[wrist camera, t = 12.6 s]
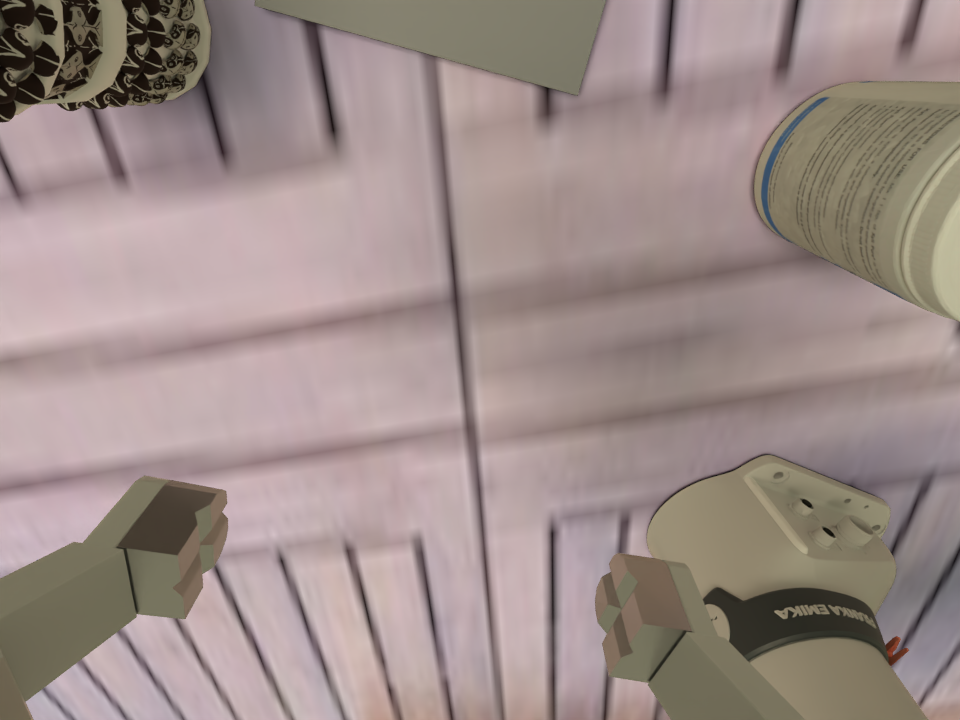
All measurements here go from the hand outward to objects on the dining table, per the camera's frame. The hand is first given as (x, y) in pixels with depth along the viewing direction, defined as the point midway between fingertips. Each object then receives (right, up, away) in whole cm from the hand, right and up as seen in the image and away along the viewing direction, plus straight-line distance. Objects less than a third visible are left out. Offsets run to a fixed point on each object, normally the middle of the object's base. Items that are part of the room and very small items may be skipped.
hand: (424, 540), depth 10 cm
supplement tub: (+23, +16, +22) cm, 36 cm away
